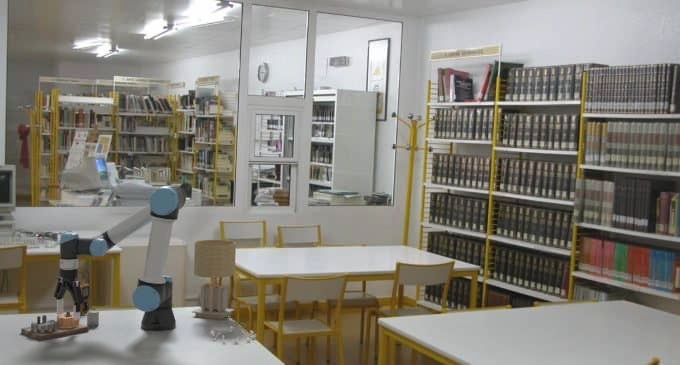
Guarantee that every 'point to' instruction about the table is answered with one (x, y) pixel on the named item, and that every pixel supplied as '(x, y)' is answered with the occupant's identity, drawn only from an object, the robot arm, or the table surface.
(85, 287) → the multimeter
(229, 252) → the desk lamp
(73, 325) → the loose gear
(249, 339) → the game piece set
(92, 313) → the smooth gray pebble
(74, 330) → the gear board
